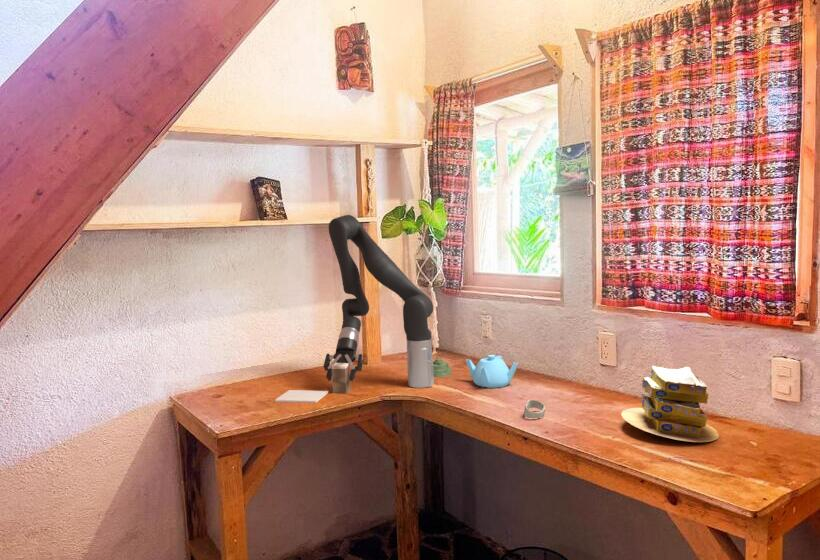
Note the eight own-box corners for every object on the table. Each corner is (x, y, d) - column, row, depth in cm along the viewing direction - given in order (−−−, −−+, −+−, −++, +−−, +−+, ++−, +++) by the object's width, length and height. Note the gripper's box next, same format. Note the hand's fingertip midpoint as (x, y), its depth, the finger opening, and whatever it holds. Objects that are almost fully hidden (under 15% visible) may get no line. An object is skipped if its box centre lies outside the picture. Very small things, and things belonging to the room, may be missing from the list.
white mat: (328, 392, 222) (328, 390, 222) (316, 402, 209) (315, 401, 209) (289, 391, 225) (289, 390, 225) (274, 401, 212) (274, 400, 212)
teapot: (520, 386, 221) (520, 357, 220) (482, 391, 216) (481, 361, 215) (501, 377, 235) (501, 349, 235) (465, 381, 231) (464, 353, 230)
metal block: (350, 389, 225) (349, 363, 224) (346, 393, 220) (345, 366, 219) (337, 389, 226) (335, 362, 225) (332, 393, 221) (331, 365, 220)
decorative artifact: (423, 377, 241) (448, 377, 238) (422, 359, 240) (447, 360, 238) (429, 371, 250) (453, 371, 248) (428, 354, 250) (453, 354, 247)
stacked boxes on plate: (715, 420, 177) (715, 363, 176) (722, 450, 154) (723, 385, 153) (624, 413, 186) (624, 359, 185) (618, 440, 164) (618, 379, 162)
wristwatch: (528, 410, 193) (528, 395, 192) (548, 412, 190) (548, 396, 190) (520, 419, 185) (520, 403, 184) (541, 421, 182) (541, 405, 181)
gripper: (327, 336, 230) (318, 374, 219) (364, 336, 227) (356, 374, 217) (332, 347, 235) (323, 385, 225) (368, 347, 233) (361, 385, 222)
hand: (339, 380), depth 221 cm, fingers open, 7 cm apart
